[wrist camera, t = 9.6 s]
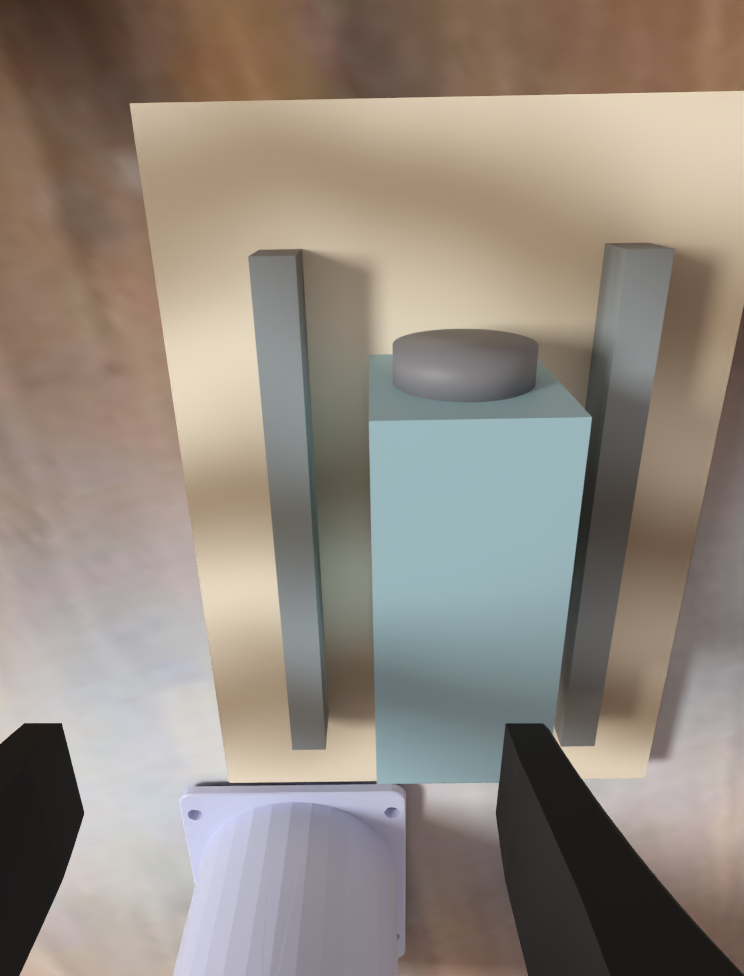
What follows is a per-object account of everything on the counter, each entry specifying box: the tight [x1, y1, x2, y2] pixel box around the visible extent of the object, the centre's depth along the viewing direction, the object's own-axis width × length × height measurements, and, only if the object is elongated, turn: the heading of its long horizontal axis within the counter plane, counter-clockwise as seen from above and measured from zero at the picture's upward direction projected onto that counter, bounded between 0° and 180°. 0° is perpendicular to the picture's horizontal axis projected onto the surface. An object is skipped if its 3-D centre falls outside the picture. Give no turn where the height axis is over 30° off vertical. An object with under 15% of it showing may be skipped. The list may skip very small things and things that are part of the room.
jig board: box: [130, 91, 744, 783], centre depth 18 cm, size 20×14×2 cm
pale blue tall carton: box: [369, 329, 592, 784], centre depth 16 cm, size 10×4×5 cm, turn 1°
